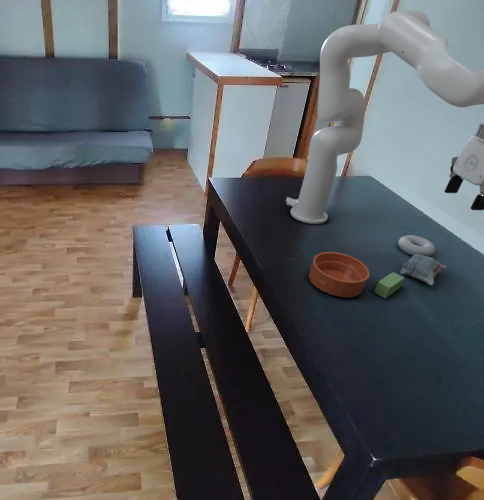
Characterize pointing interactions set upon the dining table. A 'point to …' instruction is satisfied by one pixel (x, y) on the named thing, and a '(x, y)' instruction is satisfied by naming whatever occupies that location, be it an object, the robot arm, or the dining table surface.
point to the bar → (388, 285)
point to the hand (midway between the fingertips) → (463, 200)
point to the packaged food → (422, 268)
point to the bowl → (338, 274)
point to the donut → (416, 245)
